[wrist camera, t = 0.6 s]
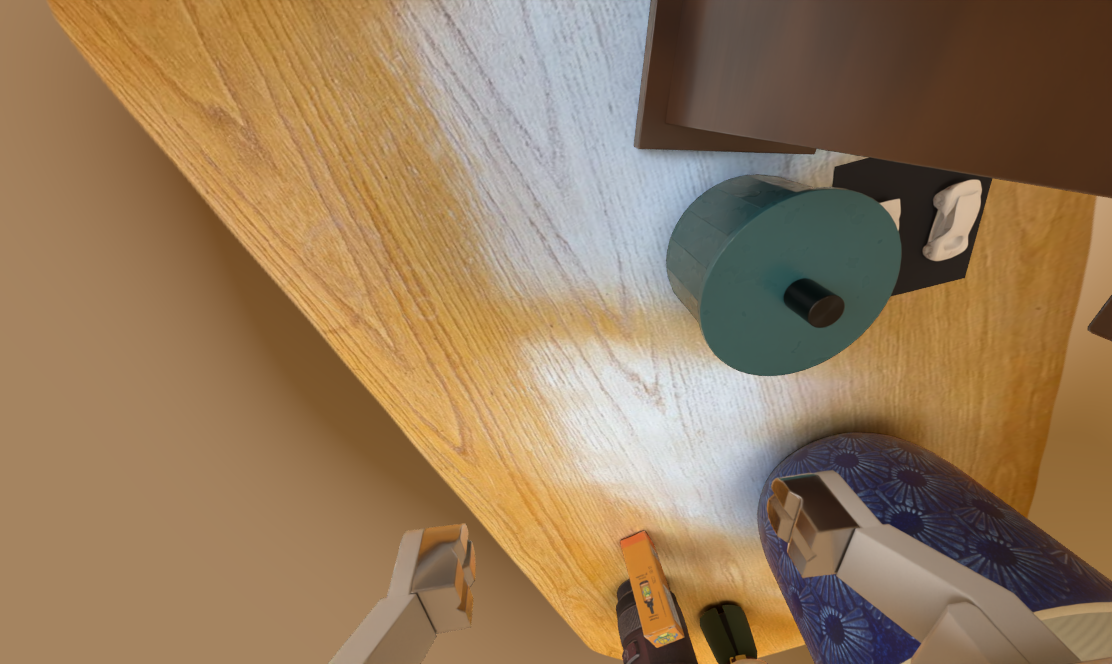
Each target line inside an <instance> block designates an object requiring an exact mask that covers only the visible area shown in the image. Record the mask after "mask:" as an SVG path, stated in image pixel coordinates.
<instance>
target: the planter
mask: <svg viewBox="0 0 1112 664" xmlns="http://www.w3.org/2000/svg"><path fill="white" fill-rule="evenodd" d="M828 470H833V471H835V472H837V473H838V474H839V475H840V476H841V477H842V478H843V480H844V481H845V482H846V483H847V484H848V485H849V486H850V488H851V489H852V490H853V491H854V492H855V493H856V495H857V496H858V497H859V498H860V499H861V500H862V501H863V503H864V504H865V505H866V506H867V507H868V508H869V509H870V511H871V512H872V513H873V514H874V515H875V516H876V518H877V519H878V520H879V521H880V522H881V523H882V524H890V525H891V526H893V527H895V528H897V529H899V530H900V531H902V532H904V533H906V534H908V535H909V536H911V537H913V538H915V539H917V540H918V541H920V542H922V543H924V544H926V545H928V546H929V547H931V548H933V549H935V550H937V551H938V552H940V553H942V554H944V555H946V556H947V557H949V558H951V559H953V560H955V561H956V562H958V563H960V564H962V565H964V566H966V567H967V568H969V569H971V570H973V571H975V572H976V573H978V574H980V575H982V576H984V577H985V578H987V579H989V580H991V581H993V582H994V583H996V584H998V585H1000V586H1002V587H1004V588H1005V589H1007V590H1009V591H1011V592H1013V593H1014V594H1015V595H1016V596H1017V597H1018V598H1019V599H1020V600H1021V601H1022V602H1023V603H1024V604H1025V605H1026V606H1027V607H1028V608H1029V609H1030V610H1031V611H1032V612H1033V613H1034V614H1035V615H1036V616H1037V617H1038V618H1039V619H1040V620H1041V621H1042V622H1043V623H1044V624H1045V625H1046V626H1047V627H1048V628H1049V629H1050V630H1051V631H1052V632H1053V633H1054V634H1055V635H1056V636H1057V637H1058V638H1059V639H1060V640H1061V641H1062V642H1063V643H1064V644H1065V645H1066V646H1067V647H1068V648H1069V649H1070V650H1071V651H1072V652H1073V653H1074V654H1075V655H1076V656H1077V657H1078V658H1079V659H1080V660H1081V661H1088V660H1094V659H1101V658H1107V657H1112V581H1111V580H1109V579H1108V578H1107V577H1105V576H1104V575H1103V574H1101V573H1100V572H1098V571H1097V570H1096V569H1094V568H1093V567H1091V566H1090V565H1089V564H1088V563H1086V562H1085V561H1084V560H1082V559H1081V558H1080V557H1078V556H1077V555H1075V554H1074V553H1073V552H1071V551H1070V550H1069V549H1067V548H1066V547H1065V546H1063V545H1062V544H1061V543H1059V542H1058V541H1056V540H1055V539H1054V538H1052V537H1051V536H1050V535H1048V534H1047V533H1046V532H1044V531H1043V530H1042V529H1040V528H1039V527H1037V526H1036V525H1035V524H1033V523H1032V522H1031V521H1029V520H1028V519H1027V518H1025V517H1024V516H1023V515H1021V514H1020V513H1018V512H1017V511H1016V510H1014V509H1013V508H1012V507H1010V506H1009V505H1008V504H1006V503H1005V502H1003V501H1002V500H1001V499H999V498H998V497H997V496H995V495H994V494H993V493H991V492H990V491H989V490H987V489H986V488H984V487H983V486H982V485H980V484H979V483H978V482H976V481H975V480H974V479H972V478H971V477H970V476H968V475H967V474H965V473H964V472H963V471H961V470H960V469H958V468H957V467H956V466H954V465H953V464H951V463H950V462H948V461H946V460H945V459H943V458H941V457H939V456H938V455H936V454H934V453H933V452H931V451H929V450H927V449H925V448H923V447H921V446H918V445H916V444H913V443H911V442H908V441H906V440H903V439H900V438H897V437H893V436H889V435H883V434H876V433H860V432H853V433H842V434H837V435H833V436H829V437H826V438H823V439H820V440H817V441H814V442H812V443H810V444H808V445H806V446H804V447H802V448H800V449H798V450H797V451H795V452H794V453H792V454H791V455H790V456H788V457H787V458H786V459H785V460H784V461H783V462H781V463H780V464H779V465H778V466H777V467H776V468H775V470H774V471H773V472H772V473H771V475H770V476H769V478H768V479H767V481H766V483H765V485H764V487H763V490H762V493H761V496H760V500H759V505H758V512H757V515H758V528H759V534H760V539H761V543H762V547H763V550H764V553H765V556H766V559H767V561H768V564H769V566H770V568H771V570H772V573H773V575H774V577H775V579H776V581H777V583H778V585H779V588H780V590H781V592H782V594H783V596H784V598H785V600H786V603H787V605H788V607H789V609H790V611H791V613H792V615H793V618H794V620H795V622H796V624H797V626H798V628H799V630H800V633H801V635H802V637H803V639H804V641H805V643H806V645H807V648H808V650H809V652H810V654H811V656H812V658H813V661H814V663H815V664H910V663H911V658H912V656H913V655H914V653H915V652H916V651H917V649H918V648H919V646H920V645H921V643H920V642H919V641H918V640H916V639H915V638H914V637H913V636H911V635H910V634H909V633H908V632H906V631H905V630H904V629H902V628H901V627H900V626H899V625H897V624H896V623H895V622H894V621H892V620H891V619H890V618H889V617H887V616H886V615H885V614H884V613H882V612H881V611H880V610H879V609H877V608H876V607H875V606H874V605H872V604H871V603H870V602H868V601H867V600H866V599H865V598H863V597H862V596H861V595H860V594H858V593H857V592H856V591H855V590H853V589H852V588H851V587H850V586H848V585H847V584H846V583H845V582H843V581H842V580H841V579H840V578H838V577H837V576H836V575H837V574H832V575H823V576H815V577H806V578H802V576H801V575H800V573H799V571H798V570H797V568H796V566H795V565H794V563H793V561H792V560H791V558H790V557H789V555H788V553H787V548H788V543H787V542H785V541H784V540H782V539H781V538H779V537H778V536H777V535H776V533H775V531H774V530H773V528H772V526H771V523H770V521H769V518H768V513H767V502H768V499H769V498H770V497H771V496H772V495H773V494H774V492H773V491H772V489H771V484H772V481H773V480H774V479H775V478H780V477H786V476H792V475H799V474H805V473H816V472H822V471H828Z"/></svg>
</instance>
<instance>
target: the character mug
mask: <svg viewBox="0 0 1112 664" xmlns="http://www.w3.org/2000/svg"><path fill="white" fill-rule="evenodd" d="M722 607H723V610H724V613H720V614H718V612H717V610H716V607H715V608H712V609H710V610H708V611H707V612H705V613H704V614H703V615H702V616H701V618H700V627H701V629H702V631H703V633H704V636H705V638H706V640H707V642H708V644H709V646H710V648H711V650H712V652H713V654H714V656H715V658H716V660H717V662H718V663H719V664H768V663H767V662H766V661H763V660H759V659H757V649H756V646H755V643H754V640H753V636H752V633H751V630H750V627H749V624H748V621H747V618H746V615H745V613H744V611H743V610H742V608H741V607H738V606H736V605H723V606H722Z"/></svg>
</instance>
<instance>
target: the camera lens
mask: <svg viewBox="0 0 1112 664" xmlns="http://www.w3.org/2000/svg"><path fill="white" fill-rule="evenodd" d="M667 584H668V583H667ZM668 587H669V585H668ZM669 590H670V588H669ZM670 593H671V596H672V600H673V602H674V605H675V608H676V611H677V614H678V617H679V620H680V623H681V626H682V629H683V633H684V638H682V639H679V640H676V641H674V642H671V643H669V644H666V645H663V646H661V647H658V648H656V647H655V646H654V645H653V644H652V643H651V642H650V641H649V640H648V639H646V638H645V637H644V634H643V630H642V625H641V621H640V617H639V613H638V609H637V605H636V601H635V598H634V594H633V590H632V586H631V582H630V579H629V580H627V581H625V582H624V583H623V584H622V585H621V586H620V587H619V589H618V591H617V598H618V603H617V606H616V611H617V618H618V630H619V635H620V639H621V643H622V647H623V650H624V651H623V655H622V657H623V662H624V664H698V662H697V659H696V656H695V653H694V650H693V646H692V643H691V640H690V637H689V634H688V630H687V626H686V623H685V620H684V617H683V614H682V611H681V609H680V607H679V605H678V602H677V600H676V597H675V595H674V594H673V593H672V592H671V591H670Z"/></svg>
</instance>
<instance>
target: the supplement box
mask: <svg viewBox="0 0 1112 664" xmlns="http://www.w3.org/2000/svg"><path fill="white" fill-rule="evenodd" d="M620 544H621V547H622V551H623V555H624V559H625V562H626V566H627V570H628V574H629V578H630V582H631V586H632V590H633V594H634V598H635V601H636V605H637V609H638V613H639V617H640V621H641V625H642V630H643V634H644V637H645V638H646V639H648V640H649V641H650V642H651V643H652V644H653V645H654V646H655V647H656V648H658V647H661V646H663V645H666V644H669V643H671V642H674V641H676V640H679V639H682V638H684V633H683V629H682V626H681V623H680V620H679V617H678V614H677V611H676V608H675V605H674V602H673V600H672V596H671V593H670V590H669V587H668V584H667V581H666V578H665V575H664V572H663V569H662V566H661V564H660V561H659V558H658V555H657V552H656V549H655V546H654V544H653V542H652V541H651V539H650V538H649V536H648V535H647V533H646V532H645V531H642V532H640V533H638V534H636V535H633V536H631V537H629V538H626V539H623V540H621V541H620Z"/></svg>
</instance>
